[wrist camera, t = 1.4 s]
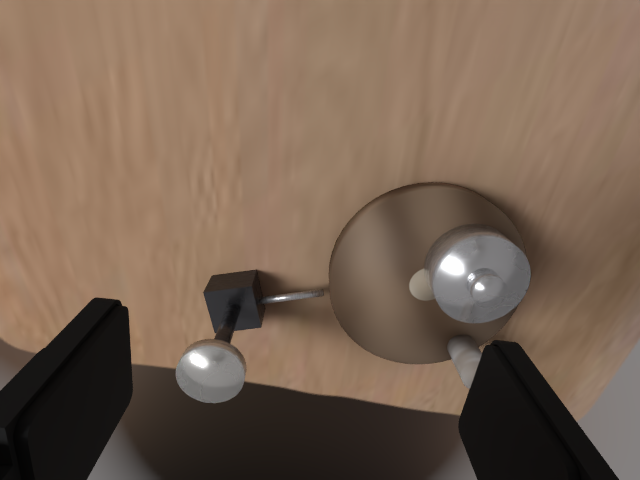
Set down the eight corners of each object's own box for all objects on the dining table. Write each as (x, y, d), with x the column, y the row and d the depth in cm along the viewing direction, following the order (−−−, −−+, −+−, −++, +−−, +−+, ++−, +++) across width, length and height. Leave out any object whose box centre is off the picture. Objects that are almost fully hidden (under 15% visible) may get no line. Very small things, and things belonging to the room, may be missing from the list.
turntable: (474, 144, 31) (508, 159, 25) (542, 304, 36) (583, 345, 31) (293, 243, 34) (289, 275, 28) (381, 377, 39) (392, 427, 34)
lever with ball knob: (220, 316, 38) (185, 406, 27) (209, 273, 36) (167, 353, 26) (326, 302, 37) (330, 389, 27) (319, 259, 36) (321, 333, 25)
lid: (493, 207, 31) (521, 228, 27) (524, 278, 33) (554, 308, 29) (409, 250, 32) (423, 276, 28) (444, 316, 34) (462, 349, 30)
